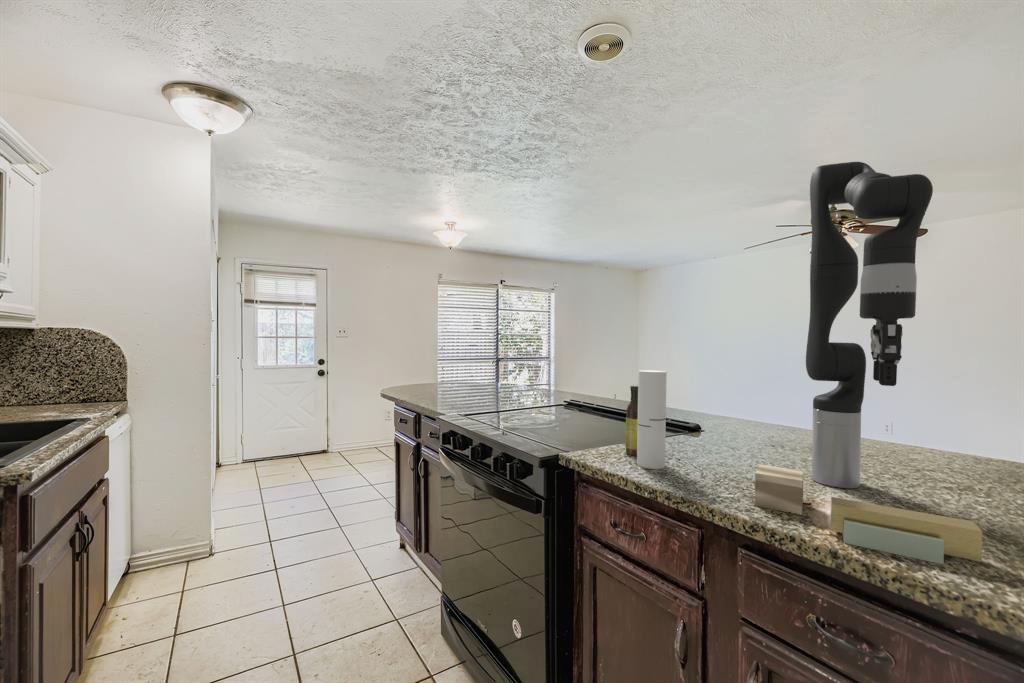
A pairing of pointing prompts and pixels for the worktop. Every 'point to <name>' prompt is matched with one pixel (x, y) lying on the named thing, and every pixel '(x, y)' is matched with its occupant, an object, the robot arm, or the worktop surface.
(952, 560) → the worktop surface
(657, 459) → the cylindrical container
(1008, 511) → the worktop surface
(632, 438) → the sauce bottle
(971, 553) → the long yellowish block
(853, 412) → the robot arm
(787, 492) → the beige u-shaped block
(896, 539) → the cradle
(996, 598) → the worktop surface
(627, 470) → the worktop surface
